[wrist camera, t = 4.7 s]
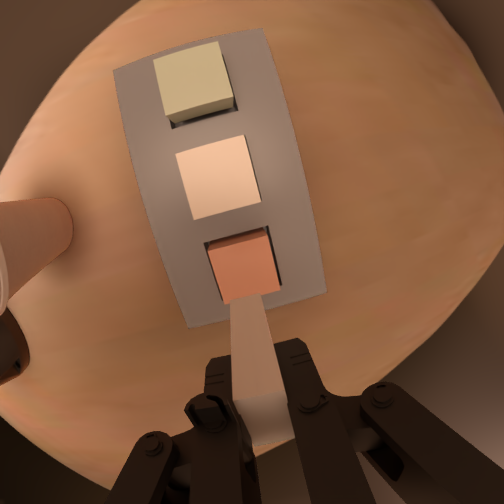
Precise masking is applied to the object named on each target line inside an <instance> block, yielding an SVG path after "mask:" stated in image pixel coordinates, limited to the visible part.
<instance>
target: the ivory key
mask: <svg viewBox="0 0 504 504" xmlns="http://www.w3.org/2000/svg"><path fill="white" fill-rule="evenodd" d="M175 155H176V159H177V162H178V166H179V170H180V174H181V177H182V181H183V184H184V188H185V191H186V195H187V198H188V202H189V205H190V209H191V212H192V216H193V219H194V220H197V219H200V218H204V217H207V216H211V215H214V214H218V213H222V212H225V211H229V210H233V209H236V208H240V207H244V206H248V205H251V204H255V203H259V202H261V199H260V195H259V191H258V187H257V183H256V179H255V175H254V171H253V168H252V164H251V160H250V156H249V152H248V148H247V145H246V141H245V137H244V135H241V136H237V137H233V138H229V139H225V140H221V141H217V142H214V143H210V144H207V145H203V146H200V147H196V148H193V149H190V150H186V151H183V152H180V153H177V154H175Z"/></svg>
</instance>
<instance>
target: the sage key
mask: <svg viewBox="0 0 504 504" xmlns="http://www.w3.org/2000/svg"><path fill="white" fill-rule="evenodd" d="M153 62H154V67H155V72H156V76H157V81H158V85H159V90H160V94H161V98H162V103H163V107H164V111H165V115H166V117H168V118H169V119H170V120H171V121H172V122H174V123H178V122H181V121H185V120H188V119H191V118H194V117H198V116H201V115H205V114H209V113H212V112H216V111H220V110H224V109H228V108H232V107H233V97H234V96H233V93H232V89H231V86H230V82H229V78H228V75H227V71H226V68H225V64H224V61H223V57H222V54H221V50H220V47H219V44H218V41H217V42H212V43H208V44H204V45H200V46H196V47H192V48H189V49H185V50H182V51H179V52H175V53H172V54H169V55H166V56H163V57H160V58H157V59H154V60H153Z"/></svg>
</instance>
